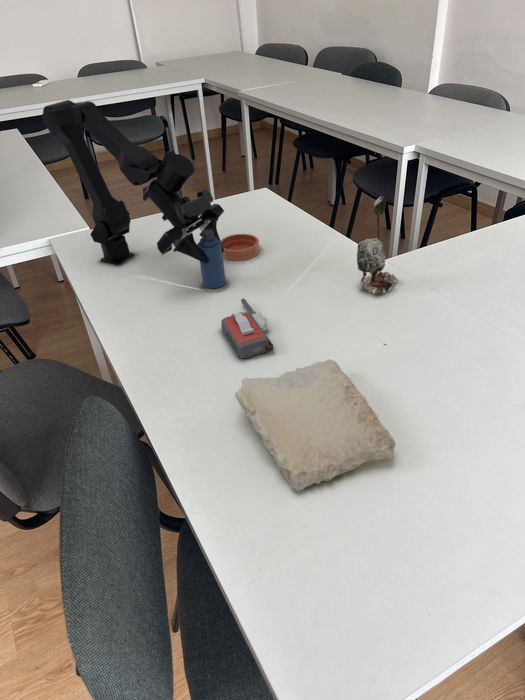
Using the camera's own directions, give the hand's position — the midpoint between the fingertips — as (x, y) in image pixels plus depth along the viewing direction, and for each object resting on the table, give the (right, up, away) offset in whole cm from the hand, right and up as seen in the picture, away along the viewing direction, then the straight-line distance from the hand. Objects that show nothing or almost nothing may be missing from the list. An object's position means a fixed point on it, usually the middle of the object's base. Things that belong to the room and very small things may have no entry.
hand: (215, 257), depth 120 cm
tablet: (+18, -34, -34) cm, 51 cm away
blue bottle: (-1, -5, +5) cm, 7 cm away
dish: (+5, +4, +18) cm, 19 cm away
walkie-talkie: (+7, -17, -11) cm, 22 cm away
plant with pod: (+36, -7, 0) cm, 37 cm away
